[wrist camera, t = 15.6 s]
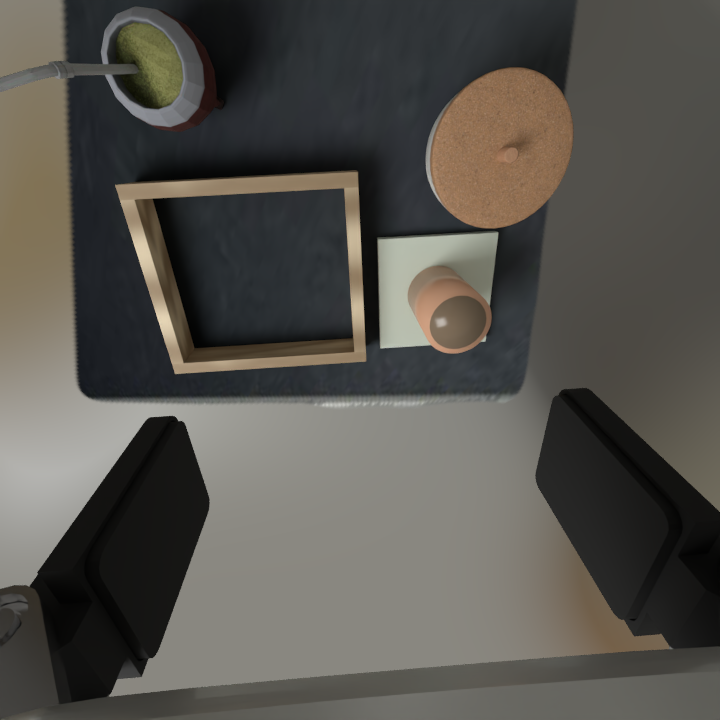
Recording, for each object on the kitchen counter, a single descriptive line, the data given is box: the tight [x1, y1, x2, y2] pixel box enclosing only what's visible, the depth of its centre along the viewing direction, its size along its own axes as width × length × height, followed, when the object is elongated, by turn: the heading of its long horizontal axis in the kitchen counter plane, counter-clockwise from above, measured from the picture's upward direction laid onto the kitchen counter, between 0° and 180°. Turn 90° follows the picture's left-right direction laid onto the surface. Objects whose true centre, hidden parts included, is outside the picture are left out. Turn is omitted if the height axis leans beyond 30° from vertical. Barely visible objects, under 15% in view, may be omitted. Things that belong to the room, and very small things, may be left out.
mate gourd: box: [0, 7, 224, 132], centre depth 26 cm, size 8×8×15 cm
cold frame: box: [115, 170, 366, 374], centre depth 39 cm, size 18×20×4 cm
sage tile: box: [377, 231, 498, 348], centre depth 41 cm, size 12×12×1 cm
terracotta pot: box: [408, 266, 492, 353], centre depth 37 cm, size 6×6×8 cm
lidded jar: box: [426, 67, 573, 228], centre depth 32 cm, size 11×11×9 cm
